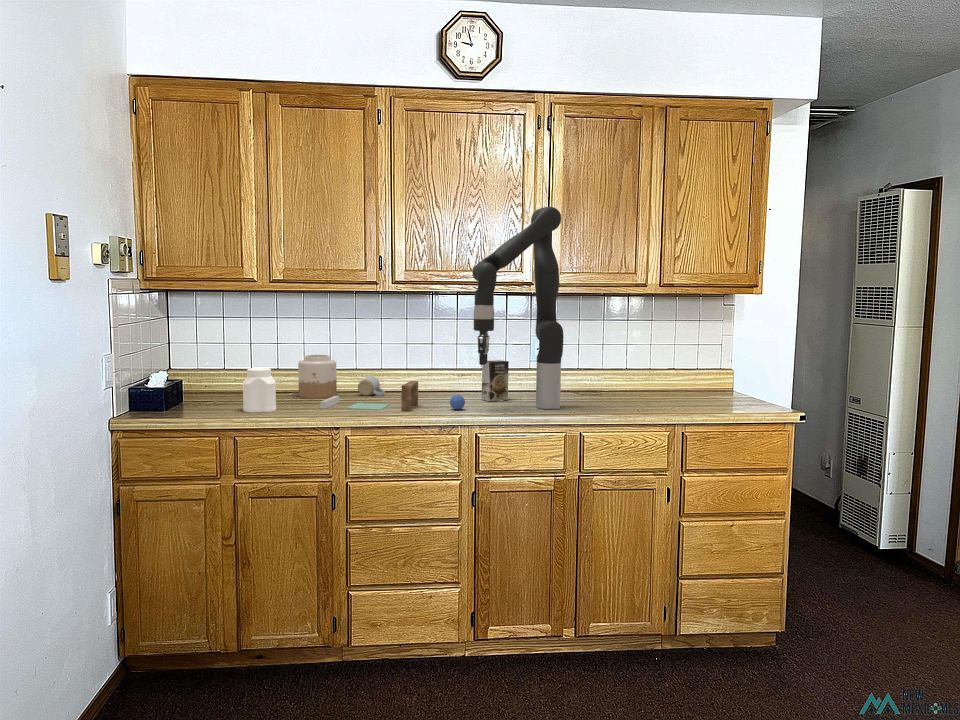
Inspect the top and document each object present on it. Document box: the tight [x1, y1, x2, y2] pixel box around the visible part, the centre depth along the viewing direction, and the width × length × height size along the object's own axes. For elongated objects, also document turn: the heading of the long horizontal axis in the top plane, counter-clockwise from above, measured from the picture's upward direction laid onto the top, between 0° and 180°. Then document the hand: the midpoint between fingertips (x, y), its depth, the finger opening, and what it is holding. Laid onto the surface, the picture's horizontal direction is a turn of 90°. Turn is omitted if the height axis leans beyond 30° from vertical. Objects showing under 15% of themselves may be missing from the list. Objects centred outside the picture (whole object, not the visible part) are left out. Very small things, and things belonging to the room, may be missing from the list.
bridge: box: [400, 380, 419, 412], centre depth 278 cm, size 3×15×9 cm, turn 172°
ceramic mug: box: [357, 375, 386, 397], centre depth 310 cm, size 11×8×8 cm
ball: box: [449, 394, 466, 411], centre depth 276 cm, size 6×6×6 cm
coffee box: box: [481, 359, 510, 402], centre depth 300 cm, size 9×6×16 cm
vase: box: [297, 354, 338, 400], centre depth 305 cm, size 15×15×17 cm
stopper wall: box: [319, 395, 341, 410], centre depth 282 cm, size 2×16×2 cm, turn 172°
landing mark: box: [346, 402, 391, 411], centre depth 281 cm, size 13×13×1 cm
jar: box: [242, 367, 277, 413], centre depth 269 cm, size 12×10×15 cm
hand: (483, 363), depth 273 cm, fingers open, 4 cm apart
